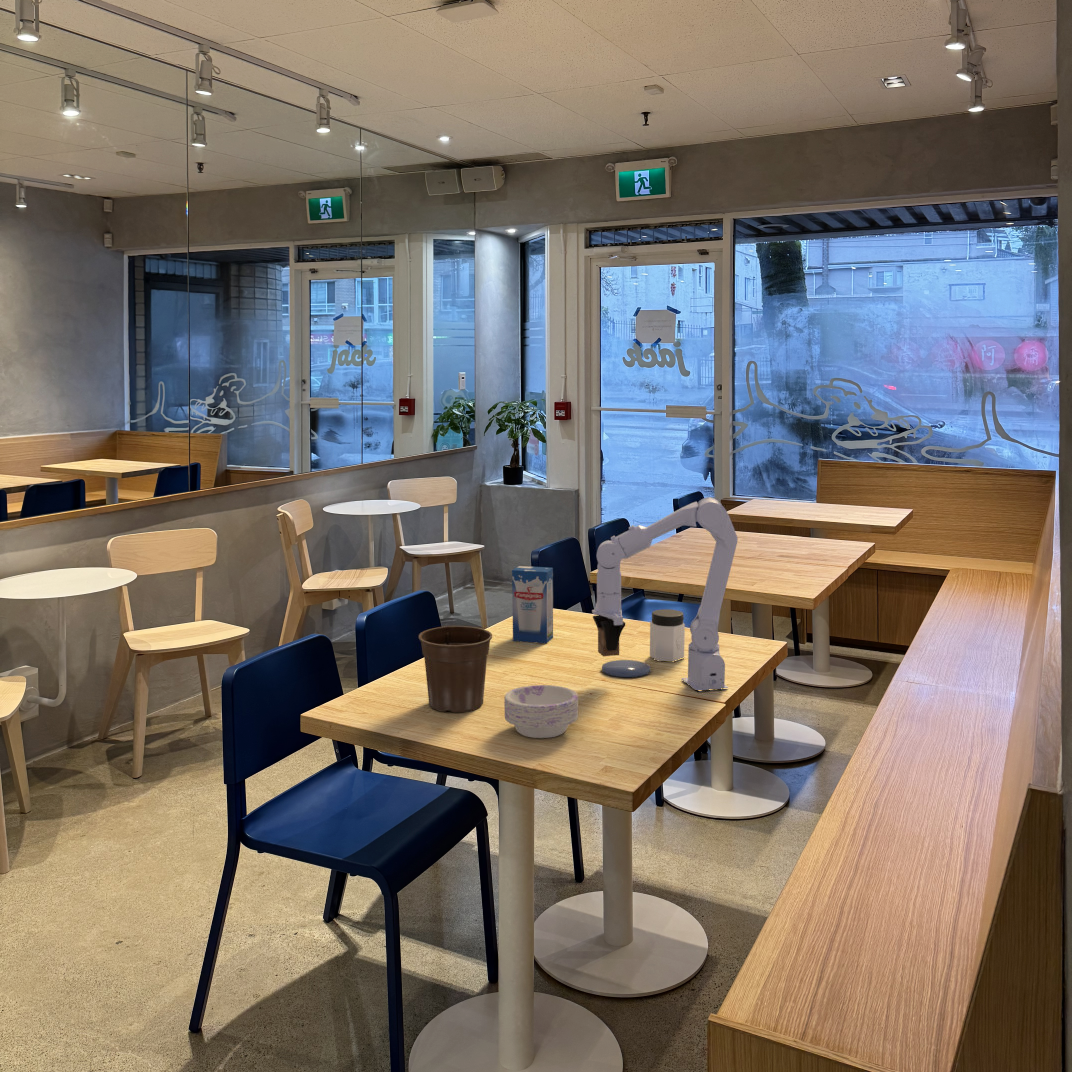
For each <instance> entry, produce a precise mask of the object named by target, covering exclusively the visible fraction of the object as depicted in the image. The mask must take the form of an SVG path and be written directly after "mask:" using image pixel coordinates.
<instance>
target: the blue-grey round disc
mask: <svg viewBox="0 0 1072 1072" xmlns="http://www.w3.org/2000/svg"><path fill="white" fill-rule="evenodd" d="M601 671H602V672H603V673H604V674H606V675H609V676H612V677H617V678H638V676H639V677H643V675H644V676H646V675H648V674H650V673H651V666H650V665H649V664H648V663H646V662H644V661H643V662H642V661H640V660H630V659H620V660H619V659H618V660H612V661H611V660H610V661H607V662H605V663H603V664H602V665H601Z"/></svg>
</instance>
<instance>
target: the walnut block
mask: <svg viewBox="0 0 1072 1072" xmlns="http://www.w3.org/2000/svg"><path fill="white" fill-rule="evenodd" d="M597 653H598V654H599V655H601V656H602V657H611V656H614V657H615V656H620V640H619V641H618V646H617V649H616V650H611V651H608V650H607V647H606V639H605V633H604V630H603V627H600V628H598V629H597Z"/></svg>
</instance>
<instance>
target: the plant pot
mask: <svg viewBox="0 0 1072 1072" xmlns="http://www.w3.org/2000/svg"><path fill="white" fill-rule="evenodd" d="M492 638H493V633H492V632H490V631H489V630H487V629H485V628H480V627H475V626H464V625H447V626H439V627H438V626H437V627H434V628H429V629H426V630H423V631H422V632H420V633H419V634H418V639H419V641H420V644H421V652H422V656H423V657H424V666H425V675H426V677H425V678H426V686H427V695H428V705H429V707H430V708H432V709H433V710H435V711H438V712H443V713H446V712H447V711H450V712H452V713H453V714H456V713H457V714H458V713H467V711H468V712H473V711H475V710H478V709H480V708H481V707H482V705H483V704H484V697H485V696H484V695H485V687H486V686H485V684H486V683H485V682H486V672H487V661H488V660H487V659H488V655H489V653H490V644H491V640H492Z"/></svg>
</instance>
